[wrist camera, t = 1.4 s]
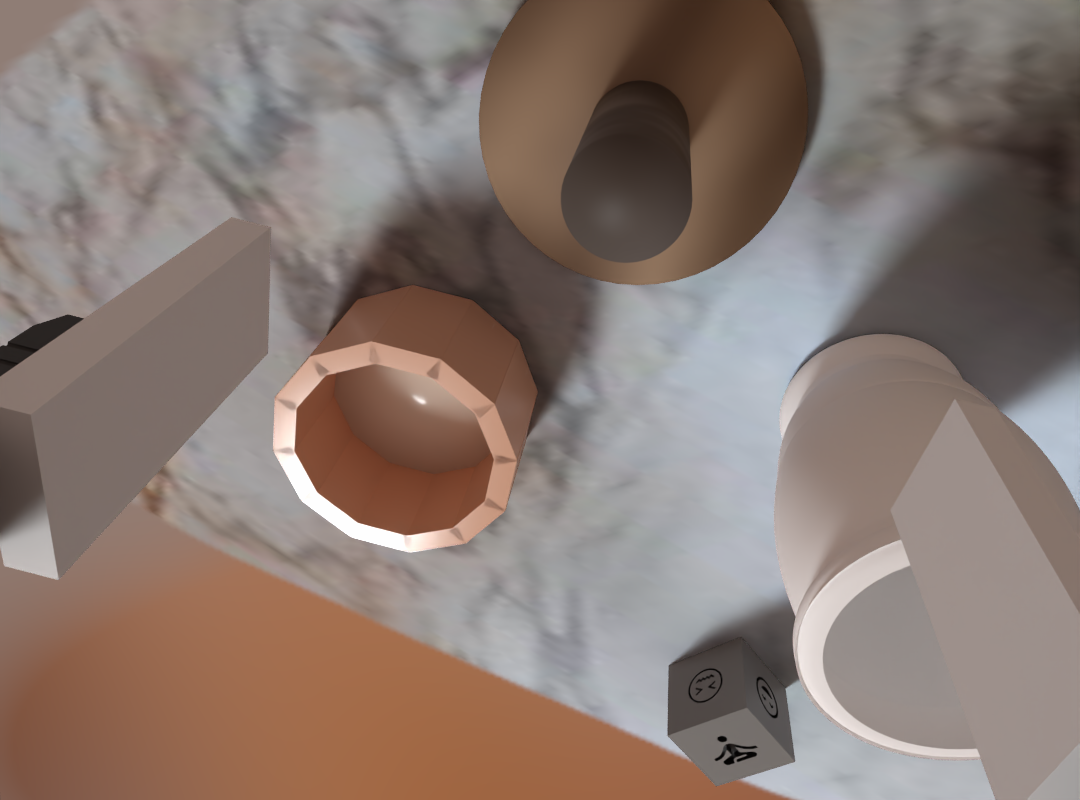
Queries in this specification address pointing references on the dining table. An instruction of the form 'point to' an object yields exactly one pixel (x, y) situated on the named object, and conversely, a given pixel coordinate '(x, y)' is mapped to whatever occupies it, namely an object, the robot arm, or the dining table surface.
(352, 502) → the bowl
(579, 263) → the lid
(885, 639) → the jar
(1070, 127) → the dining table surface
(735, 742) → the dice cube
